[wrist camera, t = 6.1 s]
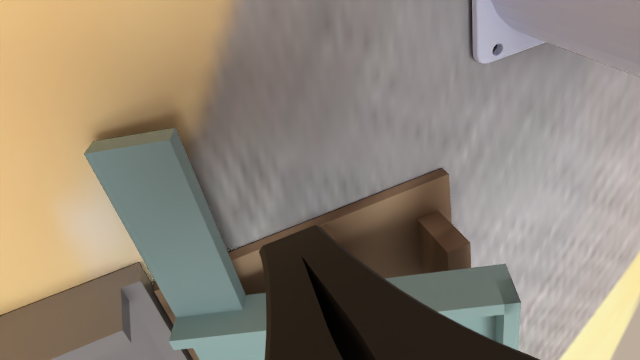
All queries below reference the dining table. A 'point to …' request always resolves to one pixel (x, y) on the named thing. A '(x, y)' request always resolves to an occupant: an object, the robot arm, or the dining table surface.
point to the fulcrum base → (376, 235)
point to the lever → (216, 266)
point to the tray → (93, 323)
